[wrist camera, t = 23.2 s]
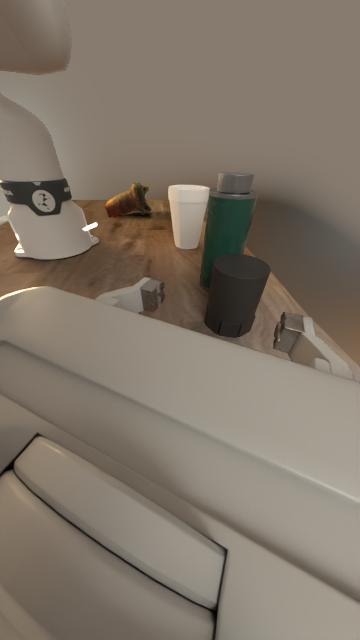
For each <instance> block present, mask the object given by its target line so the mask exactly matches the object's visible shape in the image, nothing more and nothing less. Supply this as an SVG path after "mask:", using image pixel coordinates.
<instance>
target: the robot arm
mask: <svg viewBox="0 0 360 640" xmlns="http://www.w3.org/2000/svg"><path fill="white" fill-rule="evenodd" d="M71 40H72V38H71V29H70V24H69V19H68V15H67V12H66V8H65V5H64V2H63V0H0V71H9V72H17V73H26V74H33V75H44V74H51V73H56V72H61V71H65V70H66V69H67V67H68V64H69V61H70V57H71V49H72V47H71V46H72V41H71ZM0 185H1V189H2V191H3V193H4V194H5V196H6V198H7V200H8V201H9V202H10V203H11V207H10V210H9V212H8V214H7V218H8V221H9V223H10V225H11V227H12V229H13V231H14V233H15V235H16V237H17V239H18V241H19V244H18V246H17V248H16V249H15V251H14V253H15V255H16V256H17V257H31V258H35V259H60V258H66V257H71V256H74V255H78V254H80V253H83V252H85V251H86V250H88V249H89V248H90V247H91V246H92V245H95V244H97V243H98V242H99V240H98V238H97V237H95V236H93V235H91V234H90V232H89V229H91V228H93V227H96V226H97V223H94V224H91V225H89V226H88V225H87V222H86V219H85V216H84V213H83V210H82V208H80V207H79V206H78V205H76V204H75V203H74V202H73V201H72V200H71V198H72V196H71V193H70V188H69V186H68V183H67V180H66V179H65V178H64V177H63V174H62V171H61V167H60V164H59V161H58V158H57V155H56V151H55V148H54V145H53V141H52V138H51V135H50V133H49V131H48V129H47V128H46V127H45V125H44V124H43V122H42V121H41V120H40V119H39V118H37V117H36V116H35V115H34V114H32V113H31V112H29V111H28V110H26V109H25V108H23V107H22V106H20V105H18V104H17V103H15V102H13V101H11V100H9V99H8V98H6V97H4V96H3V95H2V94H0ZM163 288H164V283H163V282H162V281H158V280H154V279H151V278H146V277H144V278H143V279H141V280H140V281H139V282H138V283H137V284H135V285H134V286H133V287H132V286H130V287H126V288H122V289H119V290H115V291H111V292H107V293H103V294H101V295H100V296H98V297H97V298H95V299H94V300H92V299H89V298H85V297H82V296H79V295H76V294H73V293H69V292H66V291H63V290H60V289H57V288H54V287H50V286H42V287H34V288H29V289H23V290H18V291H15V292H12V293H9V294H7V295H4V296H2V297H0V640H360V383H359V382H356V381H354V379H353V375H352V372H351V369H350V367H349V366H348V365H347V364H346V363H345V362H344V361H343V360H342V359H341V358H340V357H339V356H338V355H337V354H336V353H335V352H334V351H333V350H332V349H331V348H330V347H329V346H328V345H327V344H325V343H324V342H323V341H322V340H321V339H320V338H319V337H318V336H315V331H314V326H313V320H312V318H310V317H305V316H300V315H296V314H291V313H287V312H283V314H282V316H281V321H280V322H278V324H277V326H276V328H275V332H274V337H275V340H274V344H273V349H276V350H279V351H282V352H285V353H288V355H289V357H290V359H291V360H292V361H289V360H285V359H282V358H279V357H276V356H273V355H269V354H266V353H263V352H260V351H256V350H253V349H250V348H247V347H244V346H240V345H237V344H234V343H231V342H227V341H224V340H221V339H218V338H214V337H211V336H208V335H205V334H202V333H198V332H195V331H192V330H189V329H185V328H182V327H179V326H176V325H173V324H169V323H166V322H163V321H160V320H156V319H153V318H150V317H147V316H144V315H140V314H137V313H139V312H141V311H143V310H145V311H149V312H153V313H154V312H155V311H156V309H157V308H158V305H160V304H161V303H162V302H163V300H164V296H165V295H164V291H163Z"/></svg>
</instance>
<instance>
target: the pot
mask: <svg viewBox="0 0 360 640" xmlns="http://www.w3.org/2000/svg"><path fill="white" fill-rule="evenodd" d="M148 190H149V185H144V186H142V185H141V184H140V183H133V185H132V187H131V188H130V190H128V191H127V192H125V193H122V194H119V195H117V196H116V197H114V198H113V199H111V200H110V201H108V202H107V203H106V204H105V208H106V210H107V213H108V215H109V217H111V216H115V217H116V216H117V215H120V214H121V215H128V214H140V215H145V216H146V215H148V213H150V211H151V208H150V207H149V206H148V205H147V202H146V199H145V196H146V193H147V192H148ZM150 214H151V213H150Z"/></svg>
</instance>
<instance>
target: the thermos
mask: <svg viewBox="0 0 360 640" xmlns="http://www.w3.org/2000/svg"><path fill="white" fill-rule="evenodd" d="M253 177H254V174H250V173H239V172H220V173H219V179H218V186H217V188H214V189H210V190H209V198H208V207H207V217H206V226H205V236H204V246H203V255H202V265H201V275H200V286H201V287H202V288H203V289H205V290H206V291H209V292H210V285H211V278H212V271H213V265H214V261H215V259H216V258H218V257H220V256H223V255H228V254H241V255H243V253H244V249H245V245H246V241H247V237H248V233H249V229H250V225H251V221H252V217H253V212H254V208H255V204H256V200H257V197H258V192H256V191H252V190H251V186H252V181H253Z"/></svg>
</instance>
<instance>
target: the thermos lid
mask: <svg viewBox="0 0 360 640" xmlns="http://www.w3.org/2000/svg"><path fill="white" fill-rule="evenodd" d="M269 274H270V267H269V265H268V264H266V263H265V262H264V261H262V260H260V259H257V258H255V257H252V256H248V255H241V254H228V255H223V256H220V257H218V258H216V259H215V261H214V265H213V271H212V278H211V285H210V292H209V298H208V305H207V312H206V319H205V323H206V325H207V326H208V327H209V328H210V329H211V330H212V331H214V332H215V333H216V334H218V333H219V335H221V336H228V337H234V338H236V337H240V336H242V335H243V334H245V333H247V332H249V331H250V329H251V327H252V324H253V322H254V319H255V312H256V309H257V306H258V304H259V301H260V298H261V296H262V293H263V290H264V287H265V285H266V282H267V279H268V276H269Z"/></svg>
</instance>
